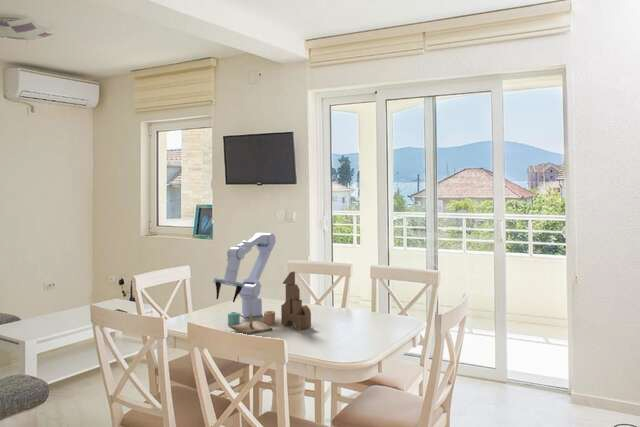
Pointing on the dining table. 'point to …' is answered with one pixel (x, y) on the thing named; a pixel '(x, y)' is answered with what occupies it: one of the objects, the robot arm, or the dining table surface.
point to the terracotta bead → (269, 317)
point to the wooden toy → (294, 306)
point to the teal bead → (233, 317)
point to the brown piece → (251, 327)
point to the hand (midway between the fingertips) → (225, 300)
